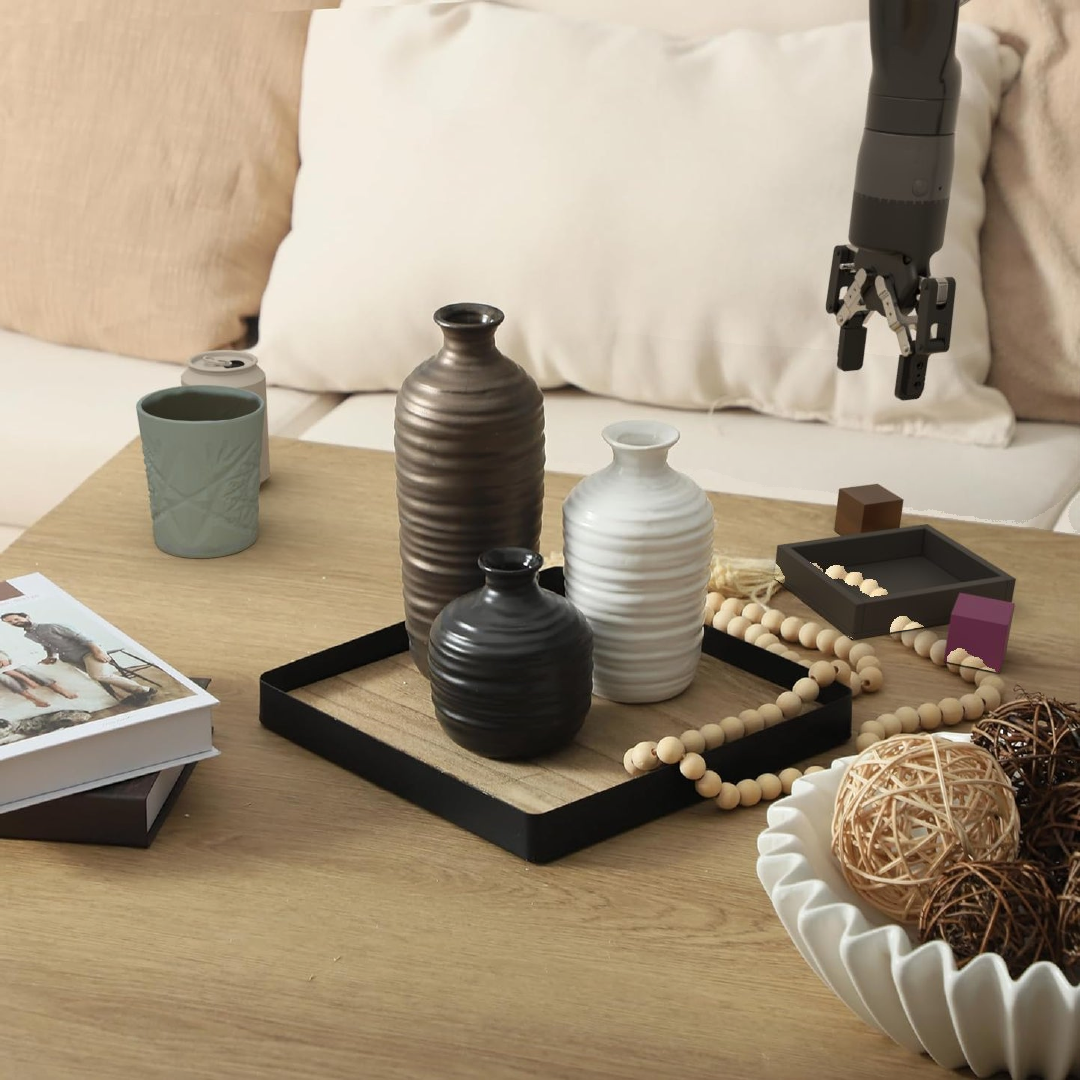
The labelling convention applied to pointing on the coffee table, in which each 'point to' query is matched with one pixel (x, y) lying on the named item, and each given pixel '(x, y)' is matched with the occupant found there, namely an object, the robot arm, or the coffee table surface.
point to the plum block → (980, 628)
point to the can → (232, 383)
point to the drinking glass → (202, 467)
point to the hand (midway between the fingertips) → (877, 383)
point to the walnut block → (867, 510)
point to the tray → (889, 578)
